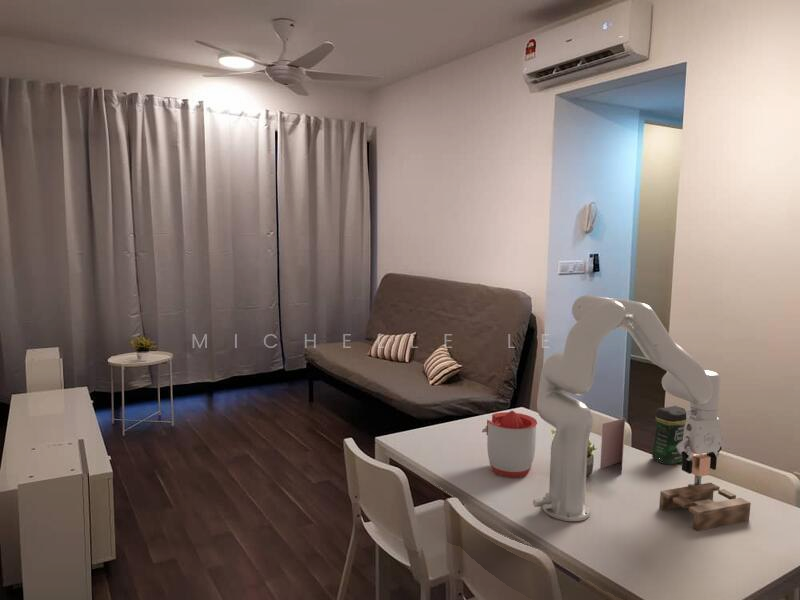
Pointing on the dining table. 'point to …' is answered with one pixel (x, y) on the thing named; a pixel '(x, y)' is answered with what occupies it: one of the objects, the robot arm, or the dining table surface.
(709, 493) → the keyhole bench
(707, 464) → the keyhole peg
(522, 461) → the citrus juicer
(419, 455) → the dining table surface
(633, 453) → the dining table surface
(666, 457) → the coffee jar
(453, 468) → the dining table surface
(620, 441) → the greeting card
